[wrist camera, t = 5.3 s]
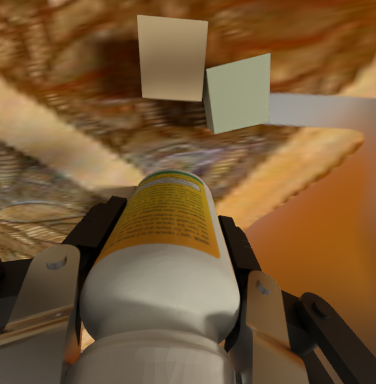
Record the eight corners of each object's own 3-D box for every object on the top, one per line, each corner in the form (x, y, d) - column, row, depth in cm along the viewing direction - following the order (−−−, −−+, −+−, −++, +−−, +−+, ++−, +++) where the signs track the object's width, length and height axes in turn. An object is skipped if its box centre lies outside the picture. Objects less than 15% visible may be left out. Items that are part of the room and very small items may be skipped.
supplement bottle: (224, 209, 12) (318, 458, 4) (165, 240, 13) (136, 473, 5) (183, 148, 10) (184, 428, 1) (117, 192, 11) (-82, 472, 3)
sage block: (200, 78, 17) (206, 69, 13) (247, 66, 17) (270, 53, 13) (207, 127, 20) (214, 133, 15) (249, 118, 19) (268, 121, 15)
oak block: (149, 40, 16) (137, 14, 11) (201, 44, 16) (208, 21, 12) (152, 99, 18) (142, 97, 14) (197, 102, 18) (201, 101, 14)
